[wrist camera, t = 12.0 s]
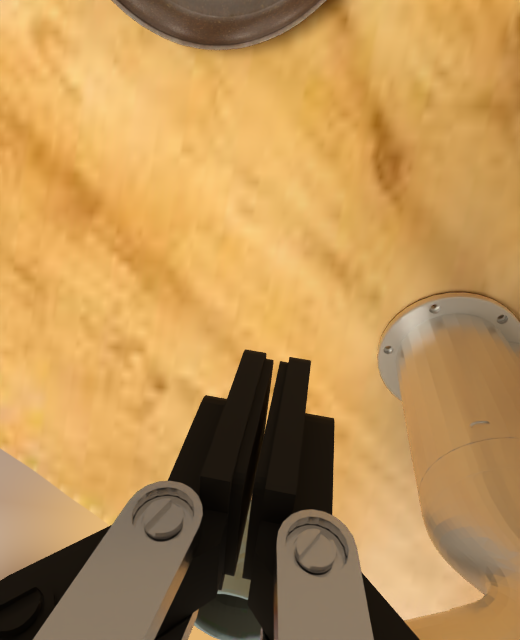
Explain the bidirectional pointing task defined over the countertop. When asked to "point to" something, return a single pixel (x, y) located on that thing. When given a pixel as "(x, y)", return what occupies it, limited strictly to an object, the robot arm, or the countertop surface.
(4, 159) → the countertop surface
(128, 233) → the countertop surface
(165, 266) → the countertop surface
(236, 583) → the grey green tapered pot
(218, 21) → the plant saucer
